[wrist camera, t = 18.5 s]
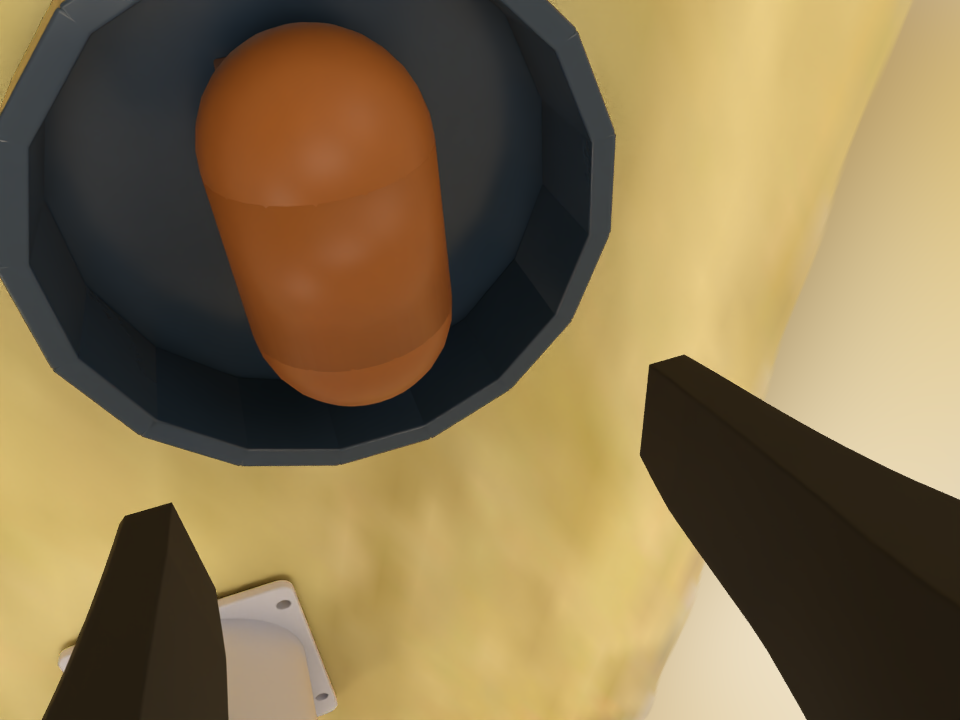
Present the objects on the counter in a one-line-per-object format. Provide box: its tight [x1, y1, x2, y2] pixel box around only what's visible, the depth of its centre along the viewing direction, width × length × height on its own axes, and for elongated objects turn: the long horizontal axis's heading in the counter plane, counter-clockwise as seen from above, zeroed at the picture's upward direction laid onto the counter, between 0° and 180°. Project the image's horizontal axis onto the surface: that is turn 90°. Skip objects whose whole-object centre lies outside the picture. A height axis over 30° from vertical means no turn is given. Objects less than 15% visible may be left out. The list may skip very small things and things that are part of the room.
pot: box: [0, 0, 616, 466], centre depth 18 cm, size 13×13×3 cm
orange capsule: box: [195, 22, 452, 406], centre depth 17 cm, size 9×5×5 cm, turn 4°
